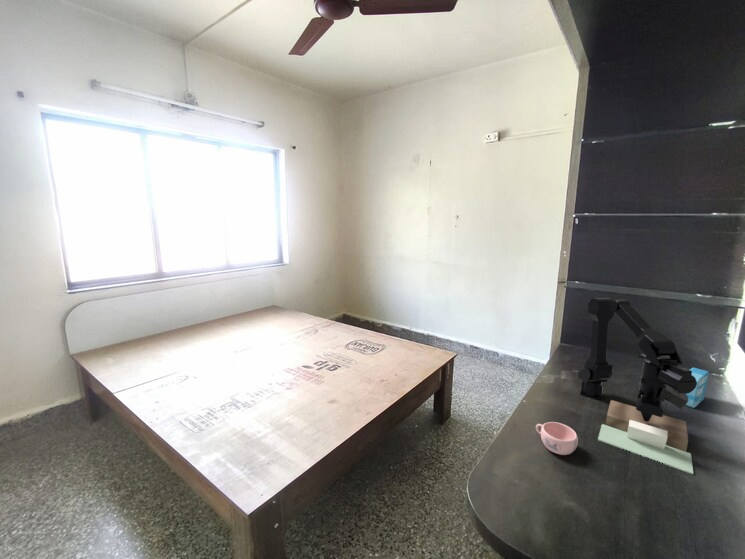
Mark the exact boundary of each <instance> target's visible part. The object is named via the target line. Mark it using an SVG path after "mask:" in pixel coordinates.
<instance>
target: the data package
mask: <svg viewBox="0 0 745 559" xmlns="http://www.w3.org/2000/svg"><path fill="white" fill-rule="evenodd" d="M689 370H690V371H692V376H694V377H695V379H696V382H697V385H696V388H695V389H694V390H693V391H692V392H690V393H687V394H686V395H687V396H688V400H689V401H688V402H687V403H686V405H685V406H687V407H690V408H693V409H694V408H696V407H697V406H698V405H699V404H700V403H702V402H703V400H704V399H705V396H706V391H707V386H708V381H709V376H710V372H709V371H707V370H704V369H700V368H697V367H692V368H690V369H689Z"/></svg>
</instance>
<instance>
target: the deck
mask: <svg viewBox="0 0 745 559" xmlns="http://www.w3.org/2000/svg"><path fill="white" fill-rule="evenodd" d="M629 420H633V421H636V422H639V423H643V424H646V425H649V426H652V427H656V428H659V429H662V430H666V431H668V434H667V441H666V445H667V446H670V447H673V448H676V449H679V450H682V451H685V452H687V451H688V450H687V449H688V445H689V444H688V443H689V435H688V429H687V421H685V420H682V419H677V418H674V417H671V416H667V415H664V414H663V417H658V416H655V415H652V416H651V418H650V420H649V422H646V421H644V419H643V416H642V414H641V411H638V410H636V406H633V405H630V404H626V403H623V402H619V401H616V400H613V399H610V402H609V406H608V410H607V414H606V420H605V425H607V426H610V427H613V428H616V429H619V430H622V431H625V432H628V426H629Z"/></svg>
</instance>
